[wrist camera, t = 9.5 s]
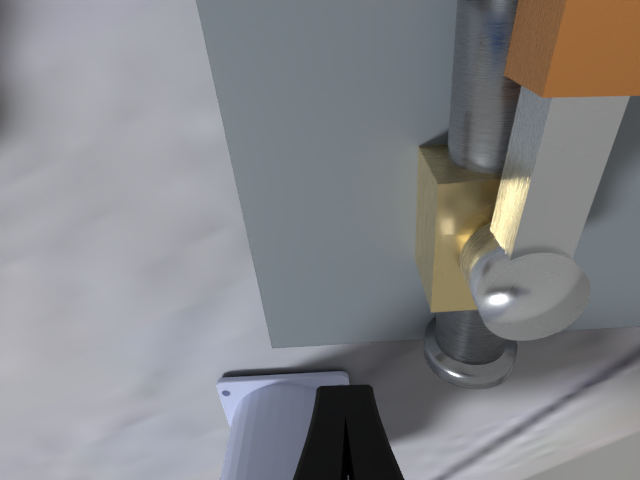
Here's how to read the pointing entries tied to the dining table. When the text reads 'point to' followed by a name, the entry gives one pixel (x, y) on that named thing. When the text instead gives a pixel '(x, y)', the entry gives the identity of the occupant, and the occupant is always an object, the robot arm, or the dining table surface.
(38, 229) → the dining table surface
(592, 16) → the valve lever
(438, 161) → the valve pipe
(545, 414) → the dining table surface
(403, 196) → the base board
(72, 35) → the dining table surface
